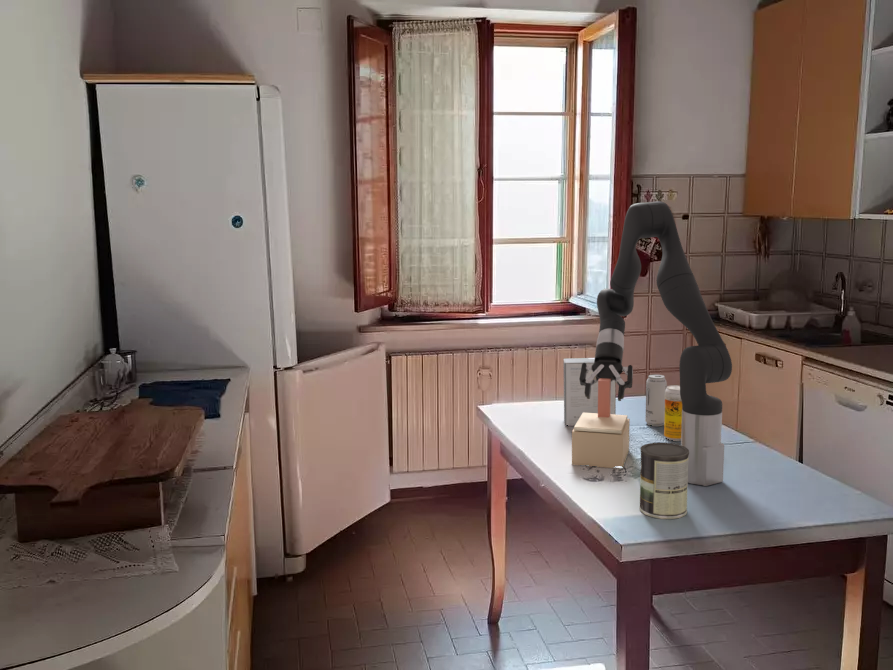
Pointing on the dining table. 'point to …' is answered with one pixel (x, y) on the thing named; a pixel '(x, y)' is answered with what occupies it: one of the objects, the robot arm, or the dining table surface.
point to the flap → (602, 414)
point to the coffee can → (664, 480)
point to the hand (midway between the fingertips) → (603, 398)
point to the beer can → (673, 413)
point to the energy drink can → (655, 400)
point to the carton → (600, 448)
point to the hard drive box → (581, 392)
